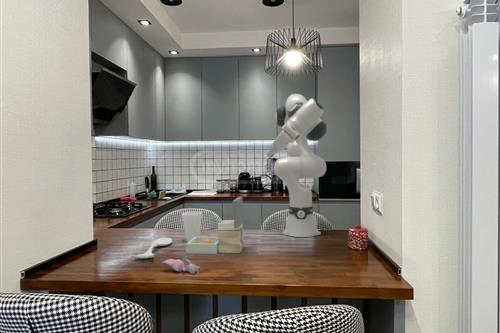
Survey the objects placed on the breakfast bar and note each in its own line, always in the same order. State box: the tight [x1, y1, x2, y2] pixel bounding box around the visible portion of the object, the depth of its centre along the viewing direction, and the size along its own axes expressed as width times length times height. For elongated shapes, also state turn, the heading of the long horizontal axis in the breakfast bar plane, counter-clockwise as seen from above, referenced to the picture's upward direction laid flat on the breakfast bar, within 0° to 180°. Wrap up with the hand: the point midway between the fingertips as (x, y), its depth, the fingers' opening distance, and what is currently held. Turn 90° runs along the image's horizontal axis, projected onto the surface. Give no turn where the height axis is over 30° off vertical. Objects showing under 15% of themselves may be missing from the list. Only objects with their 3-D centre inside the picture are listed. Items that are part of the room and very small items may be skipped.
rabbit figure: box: [161, 255, 203, 275], centre depth 119 cm, size 6×6×15 cm
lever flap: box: [217, 196, 245, 231], centre depth 146 cm, size 9×14×12 cm, turn 171°
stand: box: [217, 226, 244, 254], centre depth 146 cm, size 9×9×9 cm
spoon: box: [130, 236, 173, 259], centre depth 147 cm, size 9×32×4 cm, turn 178°
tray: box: [185, 236, 218, 255], centre depth 148 cm, size 13×13×4 cm
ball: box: [203, 239, 212, 244], centre depth 148 cm, size 4×4×4 cm
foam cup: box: [181, 211, 203, 242], centre depth 166 cm, size 10×9×13 cm
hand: (268, 156), depth 144 cm, fingers open, 8 cm apart
